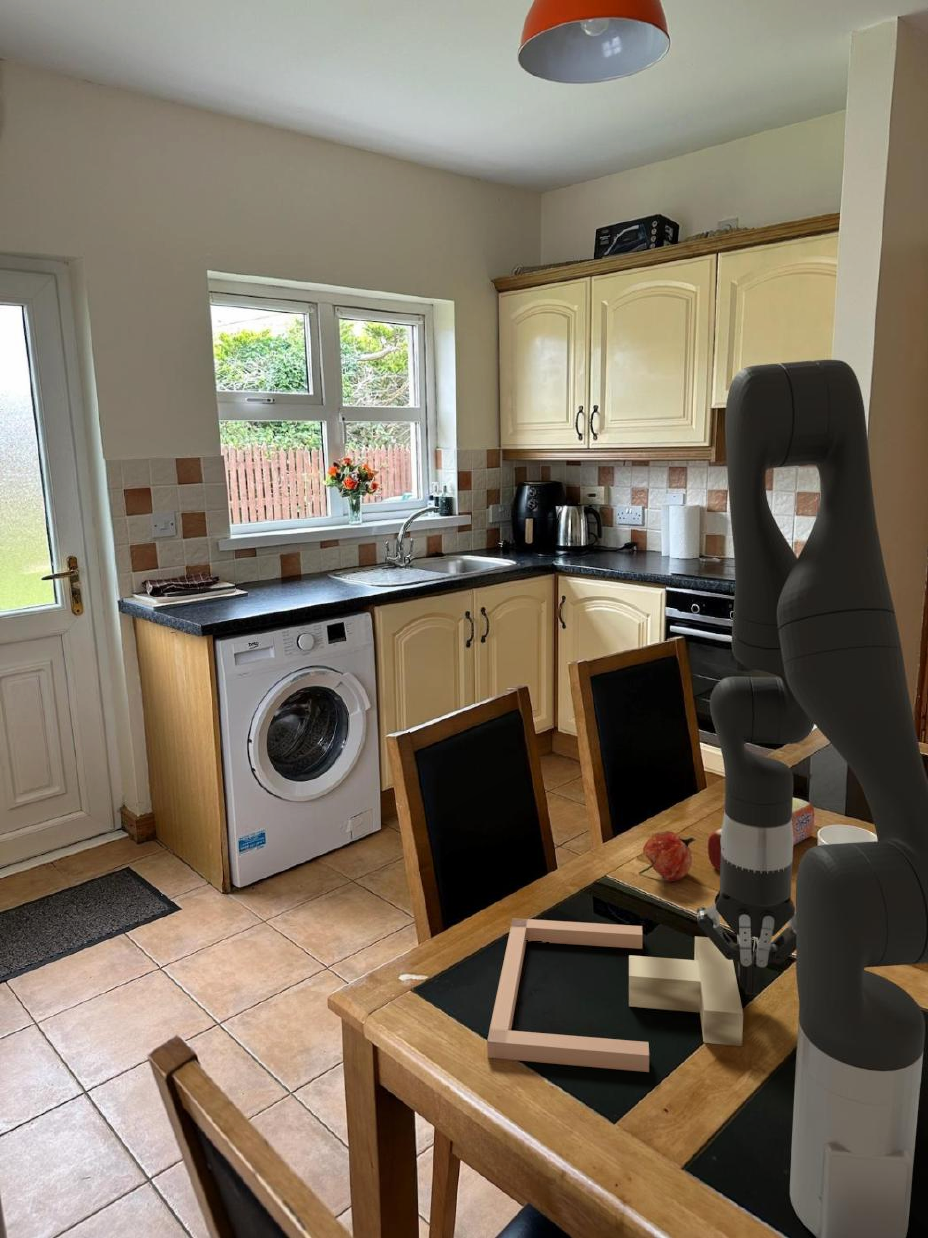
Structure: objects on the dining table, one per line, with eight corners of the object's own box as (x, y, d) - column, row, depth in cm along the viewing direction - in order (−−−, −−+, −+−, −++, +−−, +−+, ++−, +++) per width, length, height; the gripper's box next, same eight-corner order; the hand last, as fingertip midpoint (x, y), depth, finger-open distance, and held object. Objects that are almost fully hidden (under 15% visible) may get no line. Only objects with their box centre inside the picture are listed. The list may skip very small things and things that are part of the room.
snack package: (780, 825, 143) (782, 787, 142) (818, 838, 138) (820, 799, 137) (704, 868, 130) (705, 827, 129) (743, 885, 125) (744, 842, 124)
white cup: (882, 921, 115) (887, 853, 112) (820, 917, 116) (824, 849, 114) (867, 891, 122) (872, 826, 120) (809, 887, 124) (812, 823, 122)
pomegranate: (647, 902, 125) (705, 871, 122) (618, 859, 126) (674, 827, 123) (657, 883, 132) (711, 853, 128) (629, 842, 133) (682, 811, 129)
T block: (727, 968, 106) (728, 939, 105) (741, 1046, 92) (743, 1013, 92) (628, 960, 108) (629, 931, 107) (628, 1035, 95) (629, 1003, 94)
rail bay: (649, 1072, 89) (649, 1055, 89) (487, 1057, 92) (487, 1041, 92) (641, 940, 112) (641, 926, 112) (513, 931, 115) (512, 918, 115)
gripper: (697, 864, 92) (694, 1006, 96) (827, 872, 90) (818, 1017, 94) (692, 833, 100) (689, 965, 103) (812, 839, 97) (805, 974, 101)
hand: (751, 989), depth 98 cm, fingers closed
